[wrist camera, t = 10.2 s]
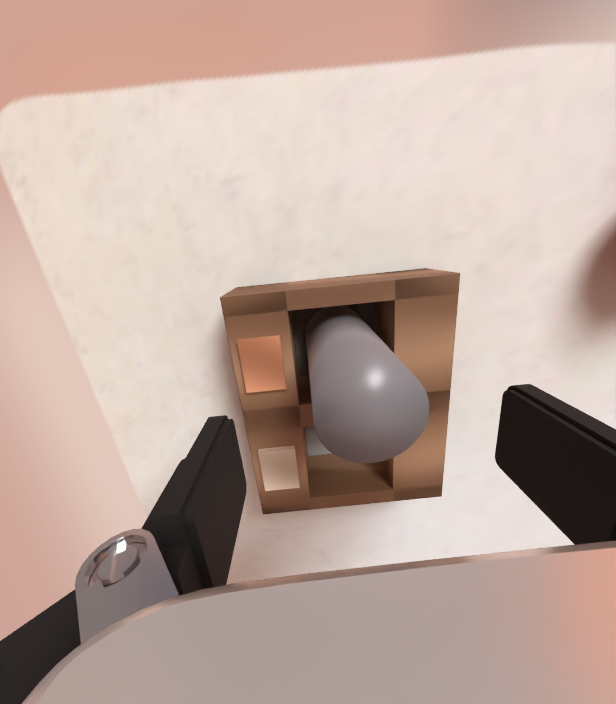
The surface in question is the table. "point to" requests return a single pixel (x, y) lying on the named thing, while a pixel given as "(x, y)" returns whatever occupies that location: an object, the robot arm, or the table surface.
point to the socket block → (295, 393)
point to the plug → (361, 390)
